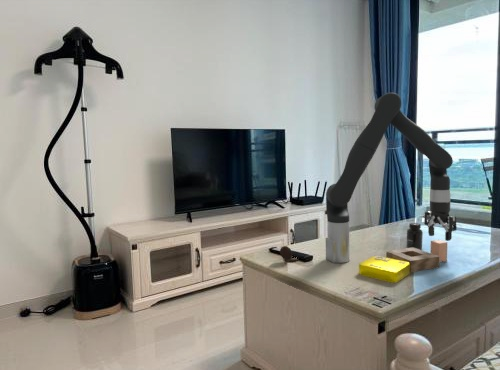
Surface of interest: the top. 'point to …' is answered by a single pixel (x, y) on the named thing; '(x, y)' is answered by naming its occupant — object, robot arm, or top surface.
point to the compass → (287, 254)
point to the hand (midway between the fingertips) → (439, 238)
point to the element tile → (384, 269)
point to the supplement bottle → (414, 236)
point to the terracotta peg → (439, 249)
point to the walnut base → (415, 258)
